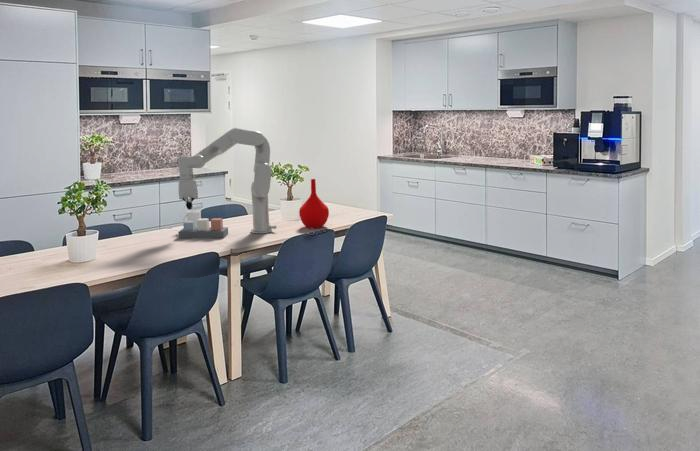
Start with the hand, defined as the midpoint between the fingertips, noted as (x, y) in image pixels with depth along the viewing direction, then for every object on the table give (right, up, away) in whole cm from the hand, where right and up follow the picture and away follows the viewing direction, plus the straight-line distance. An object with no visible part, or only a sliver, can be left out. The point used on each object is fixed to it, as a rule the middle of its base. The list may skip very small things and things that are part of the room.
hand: (189, 208), depth 353 cm
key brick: (+16, -12, +2) cm, 20 cm away
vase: (+71, -11, +26) cm, 76 cm away
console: (+8, -16, +3) cm, 18 cm away
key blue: (0, -14, +2) cm, 14 cm away
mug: (-3, -13, +19) cm, 23 cm away
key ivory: (+8, -12, +2) cm, 15 cm away
